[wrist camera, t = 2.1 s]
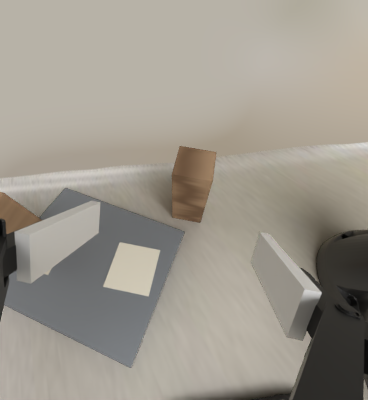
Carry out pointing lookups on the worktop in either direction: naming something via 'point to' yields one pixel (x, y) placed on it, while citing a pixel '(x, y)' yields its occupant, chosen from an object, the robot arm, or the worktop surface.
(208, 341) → the worktop surface
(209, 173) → the post
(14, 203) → the built post
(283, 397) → the disk drive
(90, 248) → the board
